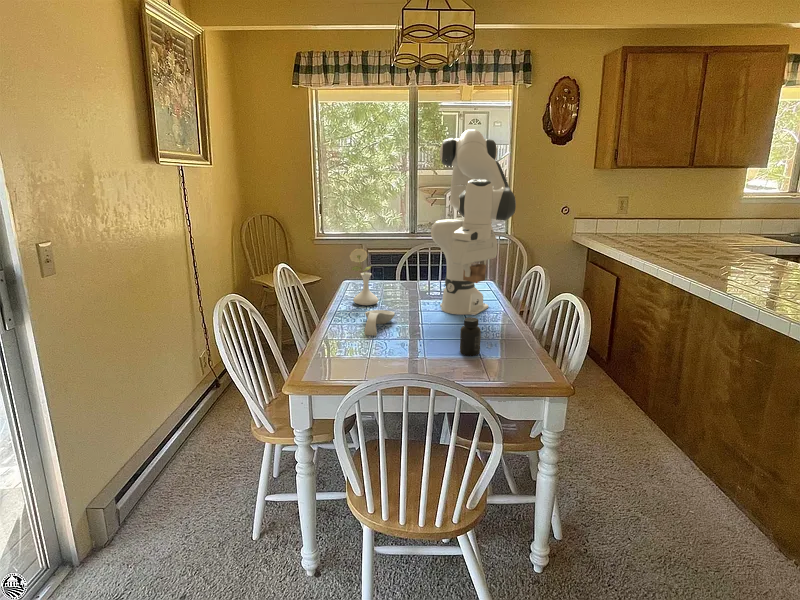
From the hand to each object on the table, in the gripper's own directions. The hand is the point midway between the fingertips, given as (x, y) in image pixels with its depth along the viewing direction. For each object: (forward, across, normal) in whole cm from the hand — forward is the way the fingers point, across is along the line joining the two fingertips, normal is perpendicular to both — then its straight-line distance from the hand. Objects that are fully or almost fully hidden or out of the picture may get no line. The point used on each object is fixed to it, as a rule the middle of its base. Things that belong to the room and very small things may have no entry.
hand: (474, 275), depth 163 cm
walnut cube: (+2, 0, 0) cm, 2 cm away
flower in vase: (+27, -15, -69) cm, 76 cm away
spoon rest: (+27, +3, -42) cm, 50 cm away
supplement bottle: (+27, 0, 0) cm, 27 cm away
